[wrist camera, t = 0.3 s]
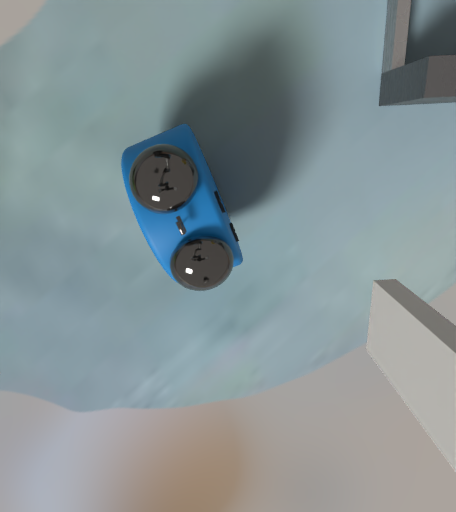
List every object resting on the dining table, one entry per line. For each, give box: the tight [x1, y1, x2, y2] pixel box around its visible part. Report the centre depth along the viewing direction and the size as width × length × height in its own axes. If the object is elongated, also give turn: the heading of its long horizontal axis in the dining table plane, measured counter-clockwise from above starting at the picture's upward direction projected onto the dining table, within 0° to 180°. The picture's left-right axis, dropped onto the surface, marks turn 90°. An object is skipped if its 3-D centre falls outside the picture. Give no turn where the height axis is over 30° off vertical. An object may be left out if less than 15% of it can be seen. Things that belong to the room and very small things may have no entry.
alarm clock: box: [121, 124, 243, 291], centre depth 31 cm, size 13×6×15 cm, turn 22°
